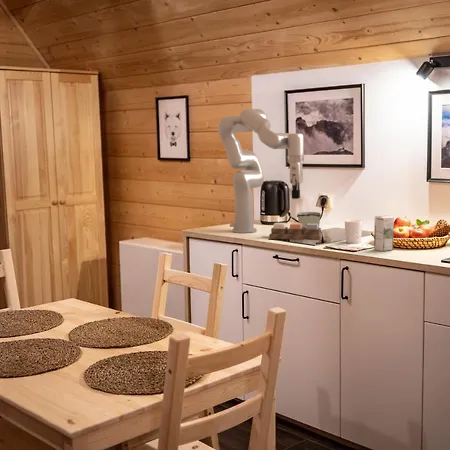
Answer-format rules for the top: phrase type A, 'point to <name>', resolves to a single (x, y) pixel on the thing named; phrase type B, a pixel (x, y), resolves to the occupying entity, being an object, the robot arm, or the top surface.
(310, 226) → the slate key
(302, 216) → the food container
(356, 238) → the white cup
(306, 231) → the key console
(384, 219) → the syrup box
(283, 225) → the cream key
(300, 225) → the terracotta key
